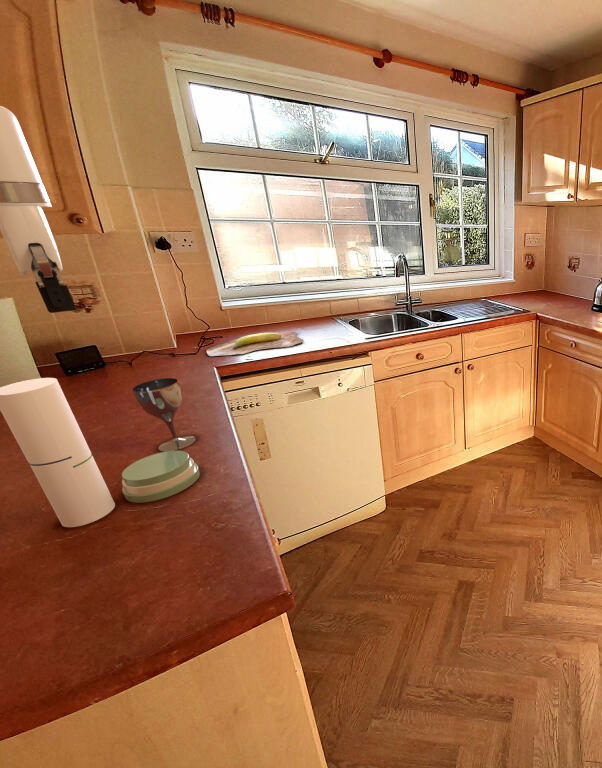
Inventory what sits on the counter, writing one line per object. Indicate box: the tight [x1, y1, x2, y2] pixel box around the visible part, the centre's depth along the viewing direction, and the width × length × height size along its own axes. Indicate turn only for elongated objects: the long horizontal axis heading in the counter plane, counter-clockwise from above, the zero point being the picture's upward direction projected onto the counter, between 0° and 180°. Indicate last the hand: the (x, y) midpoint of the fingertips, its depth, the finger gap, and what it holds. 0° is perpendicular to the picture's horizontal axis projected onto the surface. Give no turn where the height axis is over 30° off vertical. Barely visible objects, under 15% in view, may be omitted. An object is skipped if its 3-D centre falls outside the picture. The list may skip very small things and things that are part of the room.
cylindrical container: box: [0, 377, 116, 528], centre depth 71 cm, size 7×7×25 cm
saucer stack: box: [121, 450, 201, 504], centre depth 83 cm, size 12×12×4 cm
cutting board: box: [205, 331, 305, 357], centre depth 174 cm, size 35×27×4 cm
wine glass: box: [132, 377, 197, 452], centre depth 96 cm, size 8×8×15 cm
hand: (60, 307), depth 71 cm, fingers open, 9 cm apart
